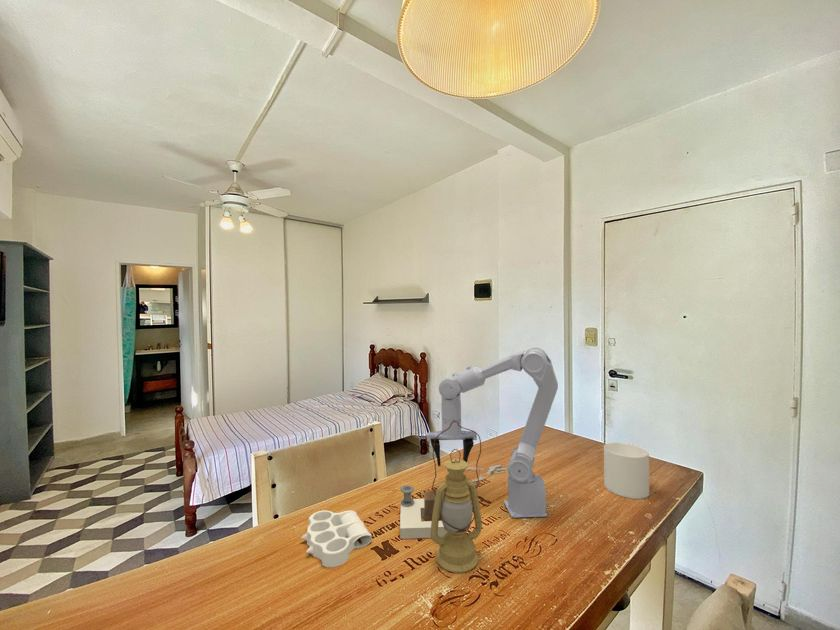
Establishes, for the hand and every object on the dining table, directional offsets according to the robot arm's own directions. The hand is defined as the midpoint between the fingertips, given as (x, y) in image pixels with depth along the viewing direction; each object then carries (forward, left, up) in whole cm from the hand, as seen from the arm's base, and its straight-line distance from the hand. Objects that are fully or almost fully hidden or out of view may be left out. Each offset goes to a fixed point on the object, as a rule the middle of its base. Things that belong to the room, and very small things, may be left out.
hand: (452, 464), depth 101 cm
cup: (-53, -1, -10) cm, 54 cm away
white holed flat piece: (+31, +18, -10) cm, 37 cm away
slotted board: (+9, +12, -9) cm, 18 cm away
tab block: (+7, +13, -9) cm, 17 cm away
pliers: (-12, -14, -10) cm, 21 cm away
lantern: (+2, +25, -10) cm, 27 cm away
